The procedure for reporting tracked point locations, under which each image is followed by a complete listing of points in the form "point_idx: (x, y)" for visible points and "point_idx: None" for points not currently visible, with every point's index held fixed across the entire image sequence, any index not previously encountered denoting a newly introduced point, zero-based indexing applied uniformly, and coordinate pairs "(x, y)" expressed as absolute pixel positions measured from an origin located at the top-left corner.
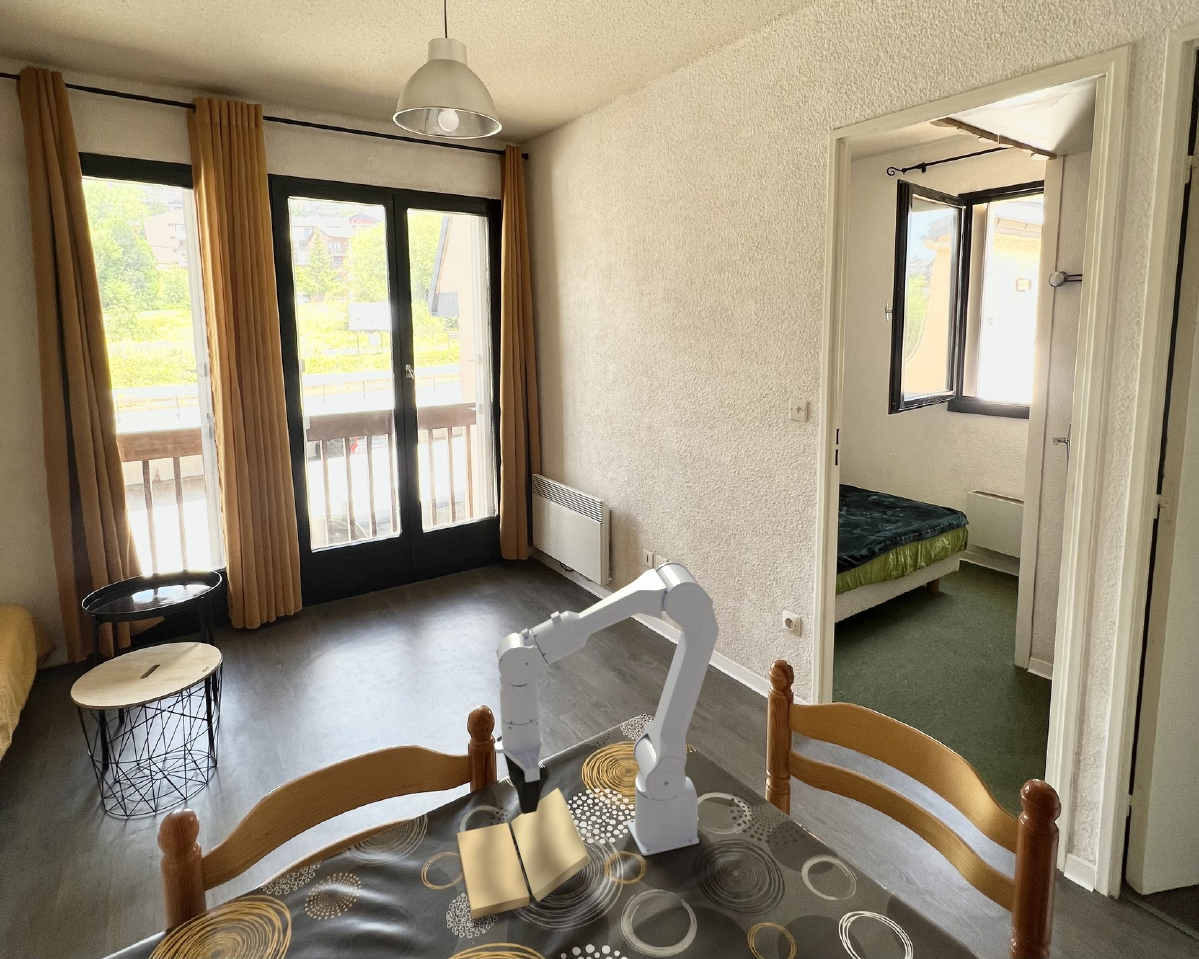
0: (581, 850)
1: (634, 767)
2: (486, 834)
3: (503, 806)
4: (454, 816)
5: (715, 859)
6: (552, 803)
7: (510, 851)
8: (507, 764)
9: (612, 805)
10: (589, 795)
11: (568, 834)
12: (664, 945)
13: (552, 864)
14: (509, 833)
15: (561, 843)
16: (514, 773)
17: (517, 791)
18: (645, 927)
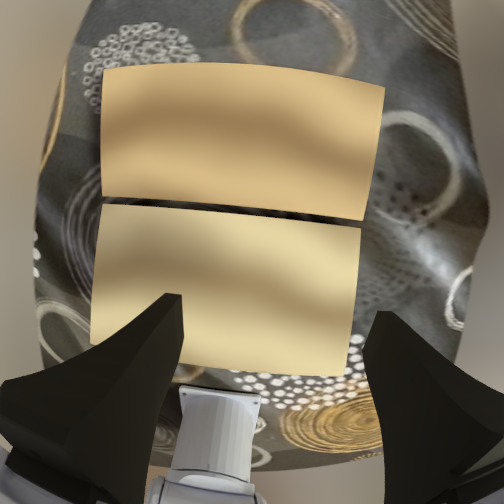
0: None
1: (369, 425)
2: (346, 155)
3: (433, 230)
4: (456, 120)
5: (157, 425)
6: (309, 348)
7: (252, 193)
8: (421, 362)
9: (314, 392)
10: (359, 373)
11: None
12: (41, 329)
13: (129, 272)
14: (321, 211)
15: None
16: (46, 453)
17: (63, 362)
18: (62, 327)
